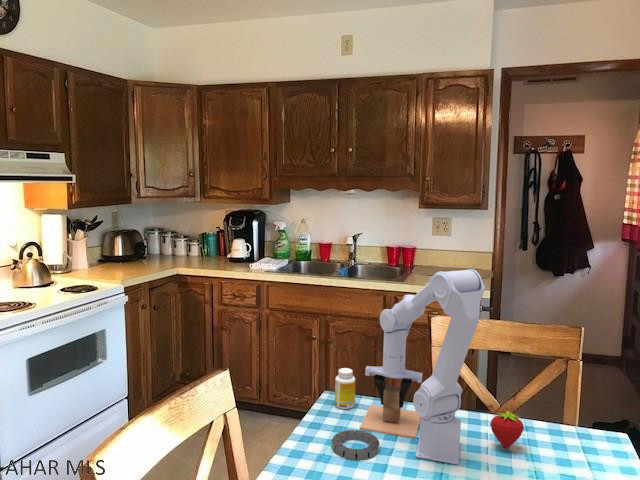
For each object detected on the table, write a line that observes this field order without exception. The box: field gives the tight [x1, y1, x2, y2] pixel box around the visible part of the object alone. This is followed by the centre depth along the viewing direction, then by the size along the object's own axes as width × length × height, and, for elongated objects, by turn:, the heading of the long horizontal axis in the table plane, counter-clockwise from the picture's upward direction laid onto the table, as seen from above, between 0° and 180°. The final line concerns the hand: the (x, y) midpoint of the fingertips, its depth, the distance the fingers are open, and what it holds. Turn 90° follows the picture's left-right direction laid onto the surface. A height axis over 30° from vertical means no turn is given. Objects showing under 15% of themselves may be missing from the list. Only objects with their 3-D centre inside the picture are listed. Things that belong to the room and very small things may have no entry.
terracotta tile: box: [359, 404, 420, 439], centre depth 134 cm, size 14×14×1 cm
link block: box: [382, 384, 402, 423], centre depth 133 cm, size 4×4×8 cm
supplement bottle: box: [334, 367, 356, 410], centre depth 142 cm, size 6×6×10 cm
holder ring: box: [331, 429, 381, 461], centre depth 121 cm, size 11×11×2 cm
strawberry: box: [490, 405, 524, 449], centre depth 122 cm, size 6×8×10 cm
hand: (392, 404), depth 134 cm, fingers open, 4 cm apart
